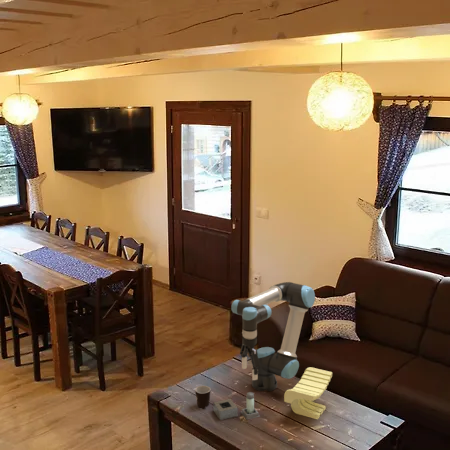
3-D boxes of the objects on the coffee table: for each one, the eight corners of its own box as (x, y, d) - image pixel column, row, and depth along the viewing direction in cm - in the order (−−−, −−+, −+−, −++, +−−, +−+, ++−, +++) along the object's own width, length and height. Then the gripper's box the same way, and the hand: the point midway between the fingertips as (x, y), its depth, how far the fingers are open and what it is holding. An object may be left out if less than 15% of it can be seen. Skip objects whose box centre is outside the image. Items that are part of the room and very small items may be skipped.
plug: (251, 411, 309) (252, 391, 306) (255, 415, 305) (255, 395, 303) (245, 413, 307) (245, 393, 305) (248, 416, 304) (248, 396, 301)
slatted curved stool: (304, 394, 329) (305, 365, 325) (331, 401, 321) (332, 372, 317) (283, 419, 303) (284, 388, 299) (312, 427, 295) (312, 396, 292)
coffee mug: (208, 410, 312) (208, 394, 310) (193, 409, 314) (193, 392, 312) (213, 399, 323) (213, 383, 321) (198, 398, 325) (198, 382, 323)
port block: (230, 408, 314) (230, 398, 313) (237, 417, 305) (237, 407, 303) (213, 412, 310) (213, 402, 309) (220, 421, 301) (220, 411, 300)
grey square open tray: (253, 410, 312) (253, 405, 311) (260, 418, 304) (260, 412, 304) (240, 413, 309) (240, 408, 308) (246, 421, 301) (246, 416, 301)
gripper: (233, 329, 307) (234, 365, 311) (253, 347, 284) (252, 385, 289) (246, 326, 309) (246, 362, 314) (266, 344, 287) (266, 383, 291)
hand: (249, 373), depth 301 cm, fingers open, 13 cm apart
